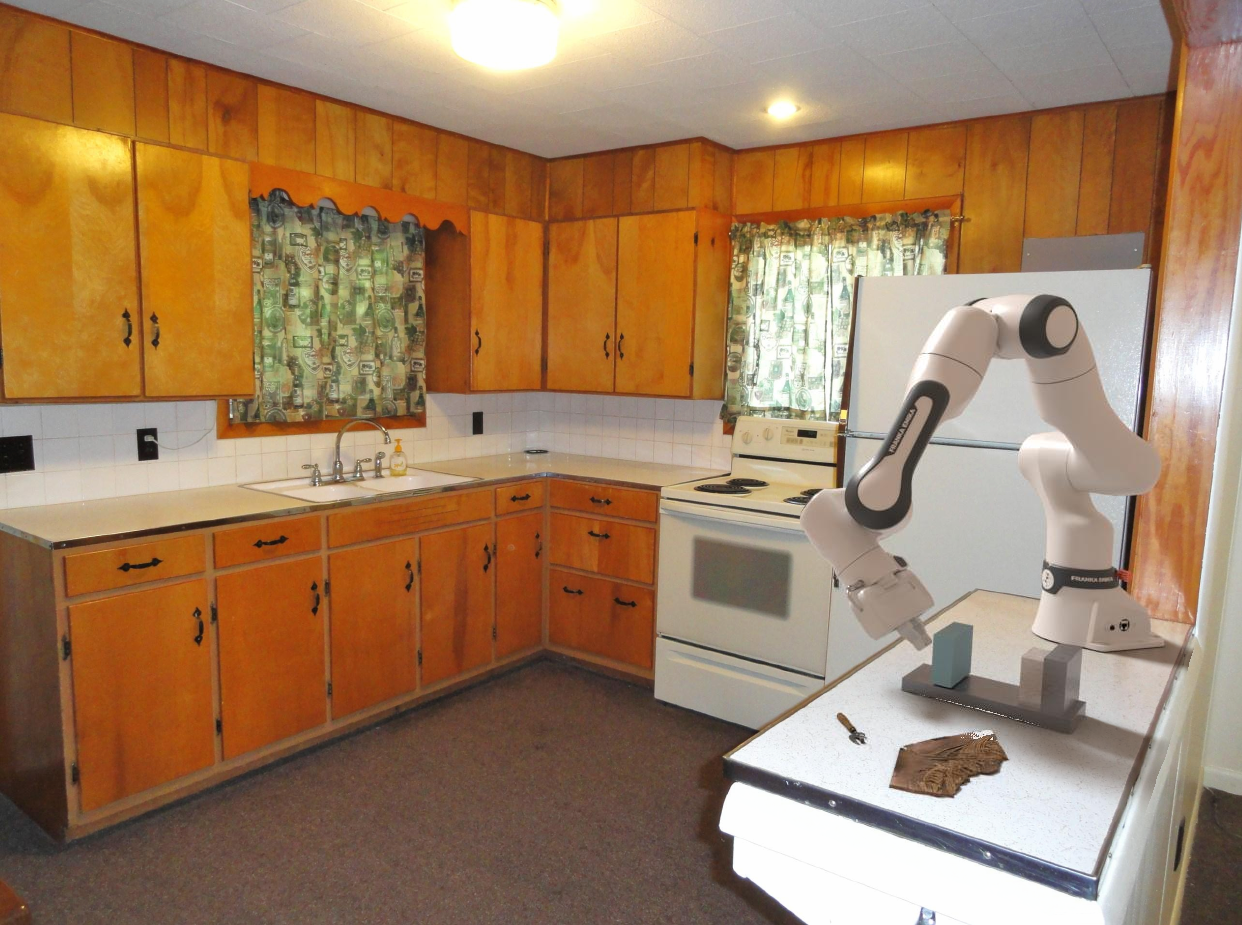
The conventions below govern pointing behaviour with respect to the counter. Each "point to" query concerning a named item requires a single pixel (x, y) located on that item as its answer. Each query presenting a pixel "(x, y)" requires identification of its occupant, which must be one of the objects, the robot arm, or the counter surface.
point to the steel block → (1032, 677)
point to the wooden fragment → (945, 763)
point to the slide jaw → (951, 654)
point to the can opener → (850, 729)
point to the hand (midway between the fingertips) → (926, 646)
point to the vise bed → (1016, 691)
